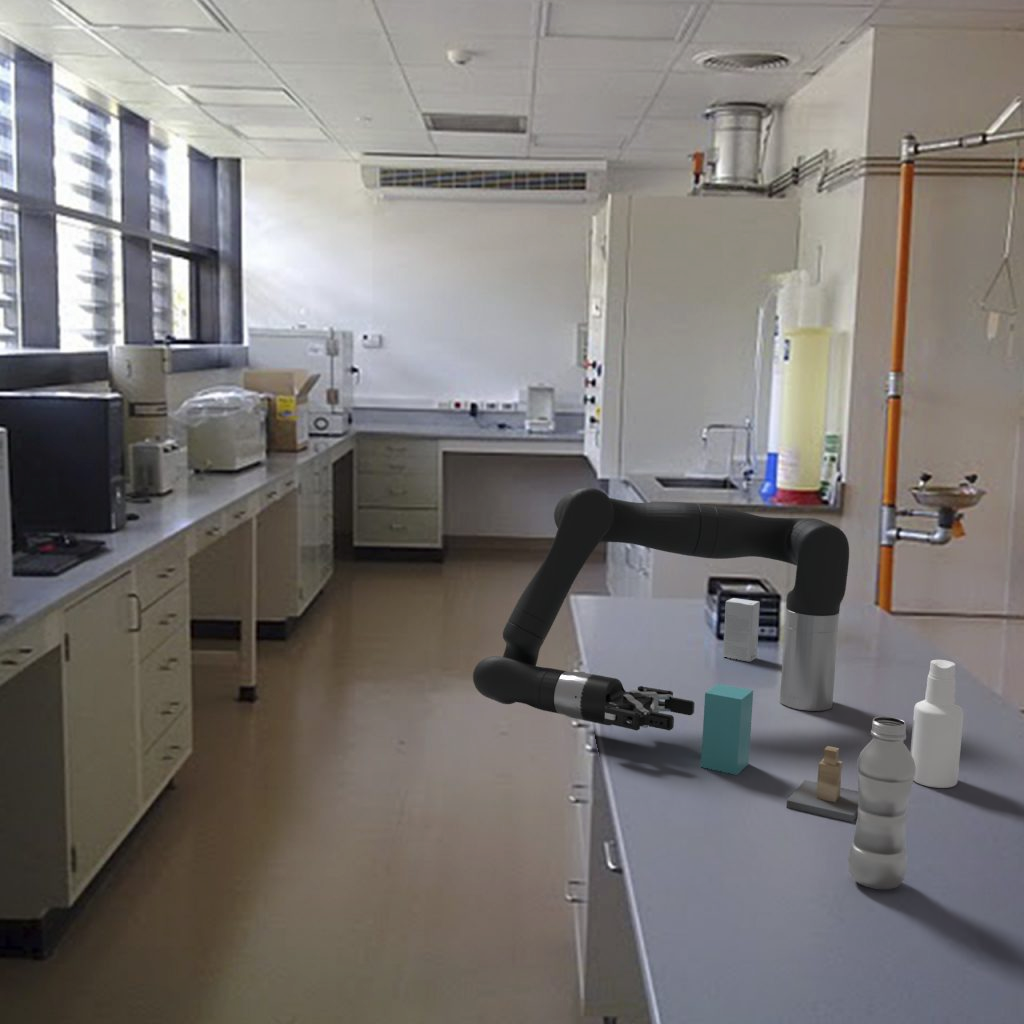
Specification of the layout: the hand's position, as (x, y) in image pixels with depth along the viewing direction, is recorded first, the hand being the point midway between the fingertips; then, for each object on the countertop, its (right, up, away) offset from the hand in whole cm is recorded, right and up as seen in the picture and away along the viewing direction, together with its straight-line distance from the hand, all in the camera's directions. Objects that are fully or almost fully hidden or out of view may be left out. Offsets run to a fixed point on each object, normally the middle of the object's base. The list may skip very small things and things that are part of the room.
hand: (683, 715), depth 172 cm
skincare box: (+21, +1, +59) cm, 62 cm away
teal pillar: (+6, -7, -3) cm, 10 cm away
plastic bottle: (+17, -13, -39) cm, 45 cm away
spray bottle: (+36, -9, -6) cm, 38 cm away
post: (+18, -9, -16) cm, 26 cm away
